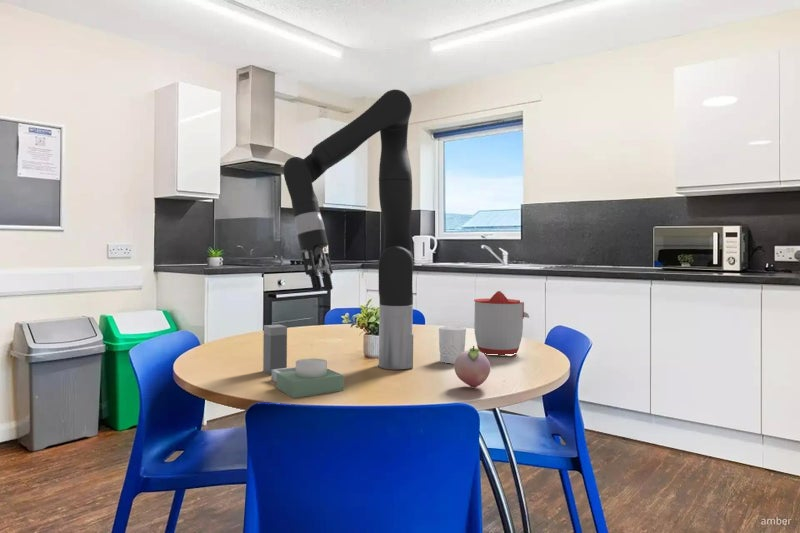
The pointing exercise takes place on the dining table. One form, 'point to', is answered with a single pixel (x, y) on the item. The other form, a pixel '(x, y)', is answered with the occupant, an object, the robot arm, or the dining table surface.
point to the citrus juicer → (499, 324)
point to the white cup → (451, 342)
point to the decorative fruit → (472, 367)
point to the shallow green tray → (307, 378)
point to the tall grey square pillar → (274, 347)
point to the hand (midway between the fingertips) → (323, 290)
